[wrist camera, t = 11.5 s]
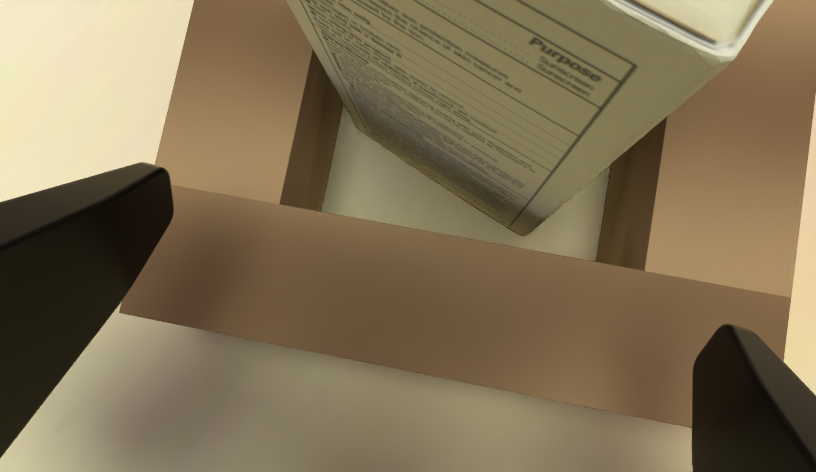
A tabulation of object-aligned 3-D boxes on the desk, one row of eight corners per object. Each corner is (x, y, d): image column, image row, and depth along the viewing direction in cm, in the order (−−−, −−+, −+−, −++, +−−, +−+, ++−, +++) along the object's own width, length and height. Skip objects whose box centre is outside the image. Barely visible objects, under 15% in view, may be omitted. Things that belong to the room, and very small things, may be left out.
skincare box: (605, 119, 17) (1053, -371, 4) (521, 245, 16) (758, 87, 4) (425, 8, 17) (392, -678, 5) (341, 128, 17) (99, -300, 5)
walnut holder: (687, 407, 15) (773, 444, 12) (196, 309, 17) (119, 312, 13) (752, -69, 17) (848, -182, 13) (296, -132, 18) (255, -254, 14)
